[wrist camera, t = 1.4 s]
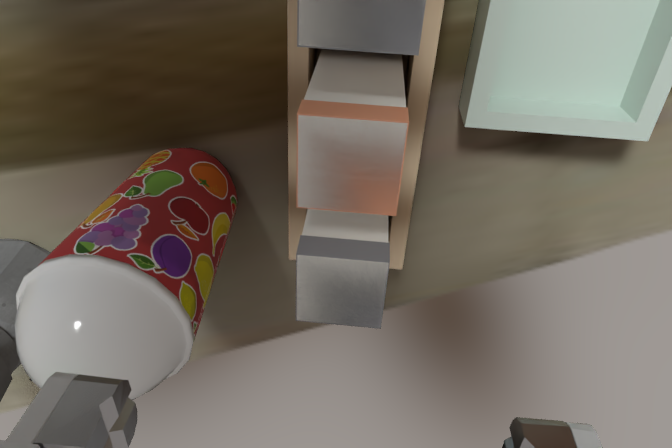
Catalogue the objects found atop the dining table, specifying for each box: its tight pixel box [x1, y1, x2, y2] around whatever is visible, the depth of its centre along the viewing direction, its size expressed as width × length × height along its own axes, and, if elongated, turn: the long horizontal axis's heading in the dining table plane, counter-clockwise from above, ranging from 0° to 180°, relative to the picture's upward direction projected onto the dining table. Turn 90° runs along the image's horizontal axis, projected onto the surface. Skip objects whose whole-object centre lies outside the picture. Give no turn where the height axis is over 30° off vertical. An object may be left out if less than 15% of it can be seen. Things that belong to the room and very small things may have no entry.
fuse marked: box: [296, 49, 409, 216], centre depth 24 cm, size 4×4×11 cm
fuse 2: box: [296, 209, 390, 328], centre depth 28 cm, size 4×4×11 cm
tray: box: [458, 0, 672, 141], centre depth 26 cm, size 12×10×3 cm
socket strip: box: [287, 0, 445, 270], centre depth 28 cm, size 21×7×6 cm, turn 177°
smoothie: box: [15, 148, 238, 400], centre depth 28 cm, size 8×8×20 cm
